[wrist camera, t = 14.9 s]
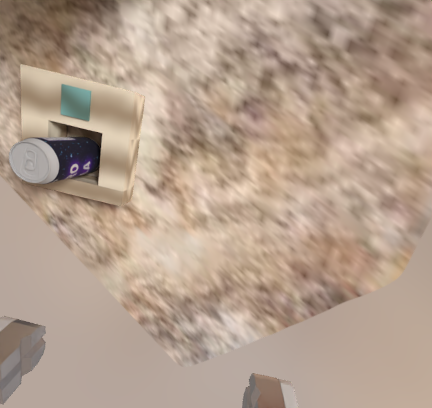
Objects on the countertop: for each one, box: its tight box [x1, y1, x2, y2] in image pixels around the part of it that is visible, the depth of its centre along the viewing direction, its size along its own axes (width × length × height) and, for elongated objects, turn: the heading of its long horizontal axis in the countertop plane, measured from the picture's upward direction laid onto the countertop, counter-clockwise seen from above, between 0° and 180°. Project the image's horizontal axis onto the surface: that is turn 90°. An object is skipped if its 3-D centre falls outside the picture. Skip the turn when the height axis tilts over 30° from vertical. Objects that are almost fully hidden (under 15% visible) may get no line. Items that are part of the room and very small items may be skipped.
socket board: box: [20, 64, 145, 207], centre depth 35 cm, size 17×16×4 cm
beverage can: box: [9, 137, 101, 184], centre depth 32 cm, size 6×6×12 cm
